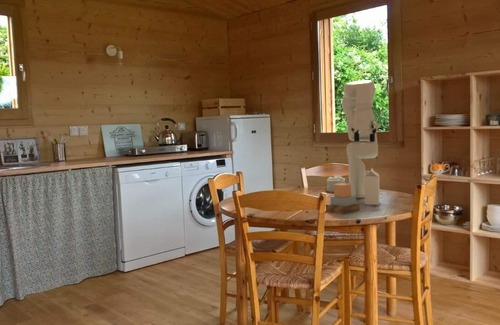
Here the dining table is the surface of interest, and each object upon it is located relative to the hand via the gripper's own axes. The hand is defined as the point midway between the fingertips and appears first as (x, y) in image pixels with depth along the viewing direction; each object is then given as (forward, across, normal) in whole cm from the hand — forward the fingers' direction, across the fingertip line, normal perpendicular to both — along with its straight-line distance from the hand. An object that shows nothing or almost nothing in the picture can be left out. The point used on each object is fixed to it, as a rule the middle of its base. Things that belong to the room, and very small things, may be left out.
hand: (364, 141), depth 242 cm
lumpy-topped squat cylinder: (+35, -49, +32) cm, 68 cm away
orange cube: (+26, -3, -13) cm, 30 cm away
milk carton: (+34, -4, +11) cm, 36 cm away
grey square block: (+30, -3, -13) cm, 33 cm away
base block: (+34, -4, -13) cm, 37 cm away
